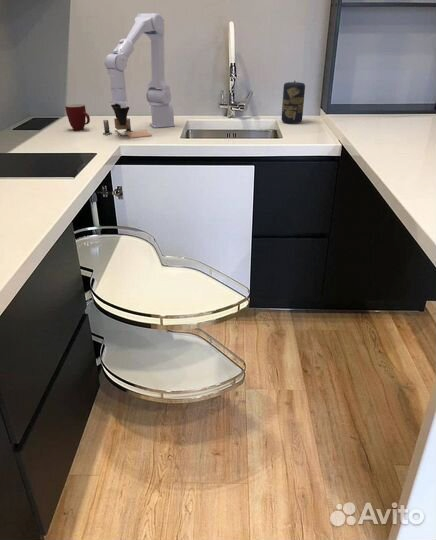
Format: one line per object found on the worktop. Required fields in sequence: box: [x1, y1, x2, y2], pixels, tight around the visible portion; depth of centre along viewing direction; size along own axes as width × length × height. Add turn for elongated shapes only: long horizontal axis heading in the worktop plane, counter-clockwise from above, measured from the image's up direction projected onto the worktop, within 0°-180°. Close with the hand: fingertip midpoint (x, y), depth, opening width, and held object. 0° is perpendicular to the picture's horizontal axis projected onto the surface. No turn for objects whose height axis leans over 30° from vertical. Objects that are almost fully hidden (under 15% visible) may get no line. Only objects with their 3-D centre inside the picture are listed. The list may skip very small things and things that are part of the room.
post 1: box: [102, 119, 113, 136], centre depth 189 cm, size 4×4×6 cm
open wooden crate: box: [113, 118, 128, 131], centre depth 184 cm, size 4×4×4 cm
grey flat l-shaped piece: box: [114, 129, 128, 137], centre depth 191 cm, size 4×12×1 cm, turn 22°
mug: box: [64, 103, 91, 132], centre depth 195 cm, size 10×8×10 cm
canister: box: [281, 80, 306, 124], centre depth 207 cm, size 10×10×18 cm
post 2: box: [124, 117, 134, 132], centre depth 192 cm, size 4×4×6 cm
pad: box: [124, 130, 152, 139], centre depth 189 cm, size 9×9×1 cm
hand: (121, 123), depth 184 cm, fingers closed on open wooden crate, 4 cm apart
